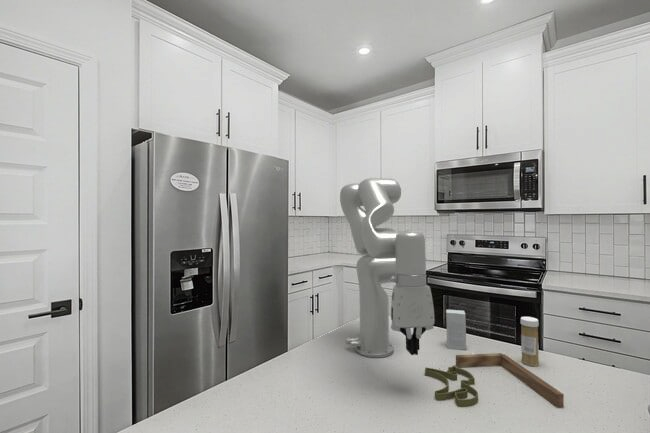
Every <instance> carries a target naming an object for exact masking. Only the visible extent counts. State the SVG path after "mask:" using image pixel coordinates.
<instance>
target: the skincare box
mask: <svg viewBox="0 0 650 433" xmlns="http://www.w3.org/2000/svg"><path fill="white" fill-rule="evenodd" d="M445 314H446V315H445V318H446V319H445V320H446V348H447V349H452V350H453V349H454V350H455V349H456V350H464V351H466V350H467V323H466V312H465V310H461V309H460V310H459V309H457V310H456V309H446V310H445Z"/></svg>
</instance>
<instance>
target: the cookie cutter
mask: <svg viewBox="0 0 650 433" xmlns="http://www.w3.org/2000/svg"><path fill="white" fill-rule="evenodd" d="M458 375H461V376H464V377H465V378H467V379H461V380H460V388H459V389H456V390H452V391H449V390H450V385H449V380H451V381H453V382H455V381H458ZM424 376H426V377H429V378H432V379H436V380H438V381H440V382H441V383H443V384H444V385H445V386H444V387H443V388H440V389H437V390H435V391H434V399H435V400H436V401H437V402H439V401H443V402H444V401H448V400H453V399H454V403H455V404H456V406H457V408H466V407H473V406H475V405H477V404H478V403H479V392H478V390H477V389H475V388H474V387H472V386H473V385H476V384H475V380H476V379H475V377H474V375H473V374H472V373H471V372H469V371H468V370H467V369H463V368H458V367H457V366H456V365H452V366H449V367H448V368H447V371H444V370H441V369H436V368H431V367H425V368H424ZM471 385H472V386H471ZM468 393H469V394H470V395H472V396H473V397H471V398H468V397H469V396H468Z"/></svg>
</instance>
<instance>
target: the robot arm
mask: <svg viewBox="0 0 650 433" xmlns="http://www.w3.org/2000/svg"><path fill="white" fill-rule="evenodd" d="M401 197H402V187H401V185H400V184H399V182H398V181H397V180H396V179H394V178H387V177H386V178H380V177H378V178H376V177H373V178H372V177H369V178H365V179H363V180H362V181H360V182H357V183H356V182H355V183H349V184H346V185H344V186H343V187H342V188H341V189H340V193H339V202H340V207H341V210H342V213H343V215H344V217H345V218H346V220H347V222H348V224H349V226H350V228H349V229H350V231H351V236H352V240H353V244H354V248H355V250H356V252H357V253H358V254H359V255H362V256H361V257H360V258H359V259H358V260H357V262H356V264H355V265H356V274H357V280H358V281H357V282H358V288H359V290H358V291H359V333H357V336H355V337H346V338H345V343H346V345H350V346H351V347H354V346H355V348H354V349H355V352H357V353H358V354H359V355H362V356H364V357H369V358H385V357H389V356H391V355H393V353H394V352H395V349H394V348H395V347H394V345H393V344H392V343H390V328H391V330H392V331H394V332H400V333H402V334H403V335H404V336H405V349H406V351H407V352H408V353H409V354H410V355H411V356H414V355H415V356H418V355H419V350H420V339H421V338H422V335H423V334H424V333H425V332H426V331H431V330H432V329H434V325H435V309H434V307H435V306H434V300H433V295H432V290H431V287H430V286H429V285H427V264H426V263H427V262H426V260H427V259H426V238H425V235H424V234H423V233H422V232H413V231H412V232H411V231H405V230H402V231H401V230H400V231H399V230H398V231H396V230H395V229H393V228H389V227H380V228H379V227H378V226H380V225H382V224H384V223H385V222H387V221H389V220H391V218H392V217H393V215H394V214H395V213H394V212H395V206H394V204H396V203H397V202H398V201H399V200H400V199H401ZM362 207H363V208H362ZM389 283H390V284H391V283H395V284H394V285H393V288H392V294H391V305H389V303H390V302H389V296H388V293H387V292H386V290H385V289H384V288H383V287H382V284H389ZM389 306H390V307H389ZM389 308H390V310H389ZM389 313H390V314H389ZM389 317H390V318H389ZM390 320H391V326H389V325H390Z"/></svg>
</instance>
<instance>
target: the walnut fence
mask: <svg viewBox="0 0 650 433" xmlns="http://www.w3.org/2000/svg"><path fill="white" fill-rule="evenodd" d="M455 366H456V368H460V369H463V368H479V367H480V368H481V367H500V366H501V367H502V368H503V369H504V370H506V371H508V373H510V374H511V375H513V376H514V377H516V379H518V380H520V381H521V382H522V383H523V384H524V385H527V387H528V388H531V389H532V391H534V392H536V393H537V394H538V395H539V396H541V397H542V398H544V399H545V400H546V401H547V402H549V403H550V404H552V405H553V406H555V407H556V408H564V406H565V405H564V402H565V400H564V397H565V396H564V393H562V392H561V391H559V389H557V388H555V387H554V386H553V385H550V383H548V382H546V381H545V380H543V379H542V378H541V377H539V376H538V375H536V374H534V373H533V372H532V371H530V370H528V369H527V368H525V367H524V366H523V365H521V364H520V363H518V362H517V361H515V360H514V359H512V358H511V357H510V356H508V355H507V354H505V353H504V354H503V353H500V352H498V353H496V352H495V353H477V354H473V353H471V354H456V355H455Z"/></svg>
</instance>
